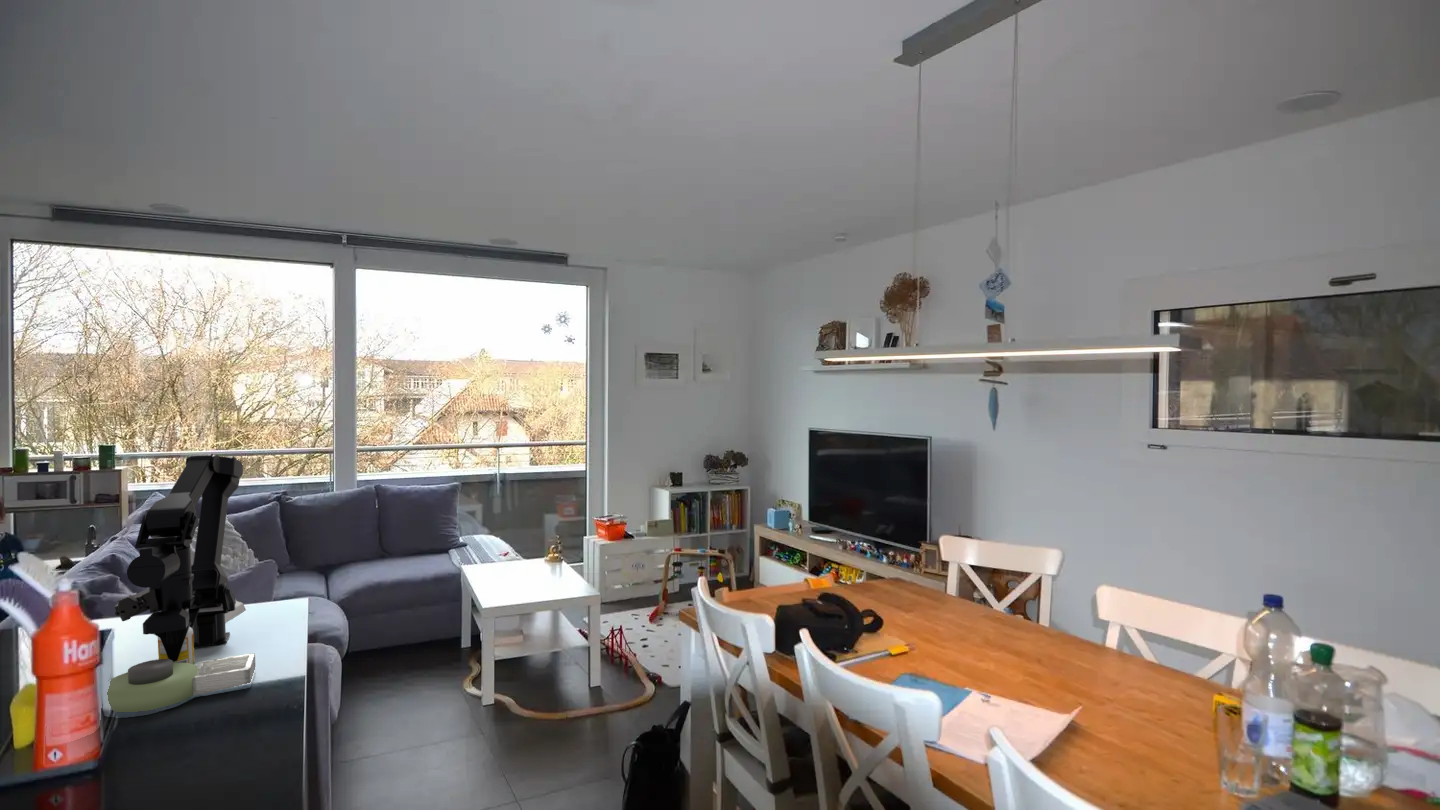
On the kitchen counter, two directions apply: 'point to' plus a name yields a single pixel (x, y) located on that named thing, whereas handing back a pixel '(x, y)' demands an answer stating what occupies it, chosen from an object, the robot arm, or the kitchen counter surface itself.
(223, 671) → the white open tray
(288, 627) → the kitchen counter surface
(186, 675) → the green base with knob
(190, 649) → the supplement bottle
